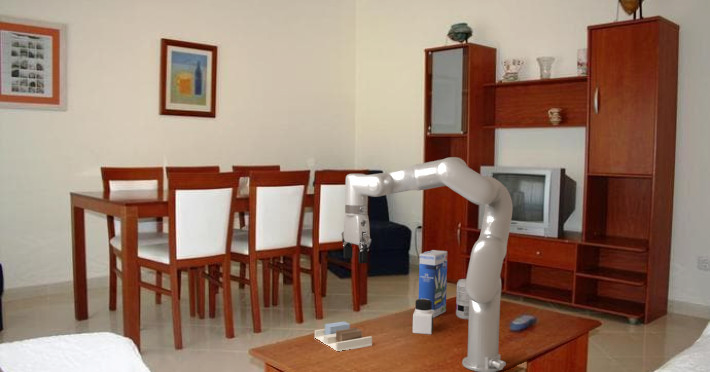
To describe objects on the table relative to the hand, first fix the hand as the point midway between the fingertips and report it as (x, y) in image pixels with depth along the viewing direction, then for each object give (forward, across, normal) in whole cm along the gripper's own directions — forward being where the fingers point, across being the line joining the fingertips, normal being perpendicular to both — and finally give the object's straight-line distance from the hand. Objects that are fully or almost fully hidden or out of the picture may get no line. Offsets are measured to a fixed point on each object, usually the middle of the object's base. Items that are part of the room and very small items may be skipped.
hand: (355, 260), depth 201 cm
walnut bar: (+30, +3, 0) cm, 30 cm away
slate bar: (+30, +12, 0) cm, 32 cm away
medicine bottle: (+31, +4, -33) cm, 45 cm away
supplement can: (+31, +11, -61) cm, 69 cm away
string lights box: (+31, +22, -52) cm, 64 cm away
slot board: (+30, +8, 0) cm, 31 cm away
